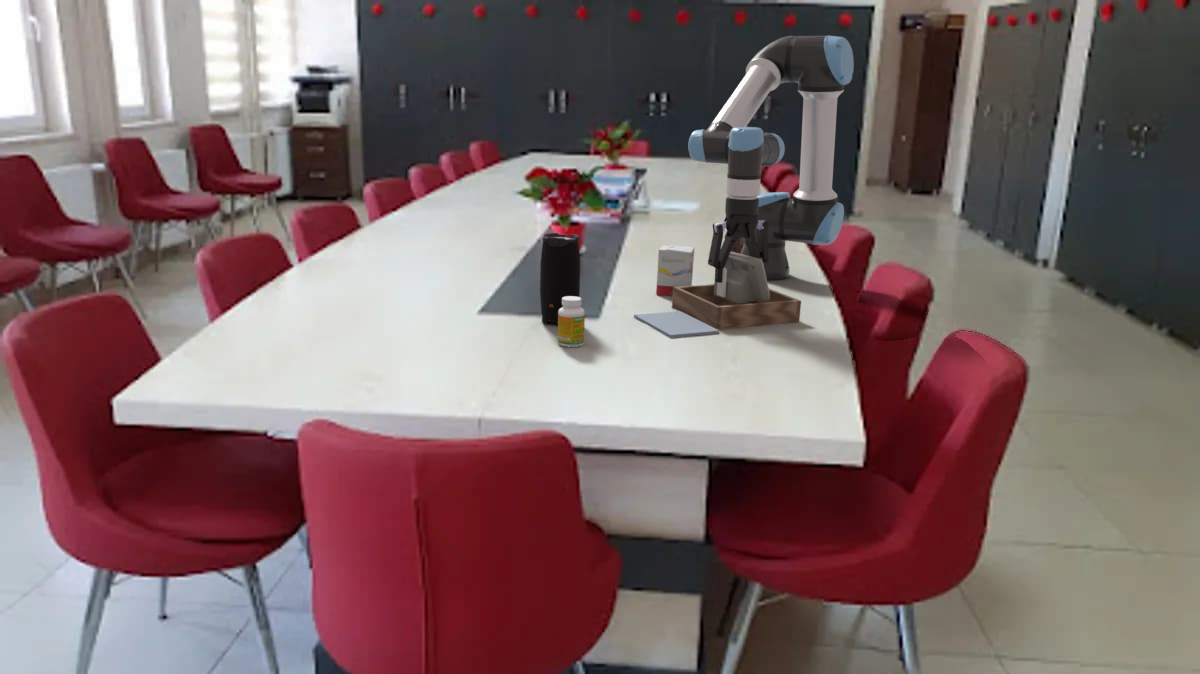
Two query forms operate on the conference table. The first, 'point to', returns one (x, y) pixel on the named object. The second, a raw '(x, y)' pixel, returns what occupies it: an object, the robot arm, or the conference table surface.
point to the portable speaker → (558, 273)
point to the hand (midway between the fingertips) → (736, 294)
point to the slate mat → (676, 324)
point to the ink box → (674, 268)
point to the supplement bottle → (571, 322)
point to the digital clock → (745, 279)
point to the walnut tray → (734, 308)
